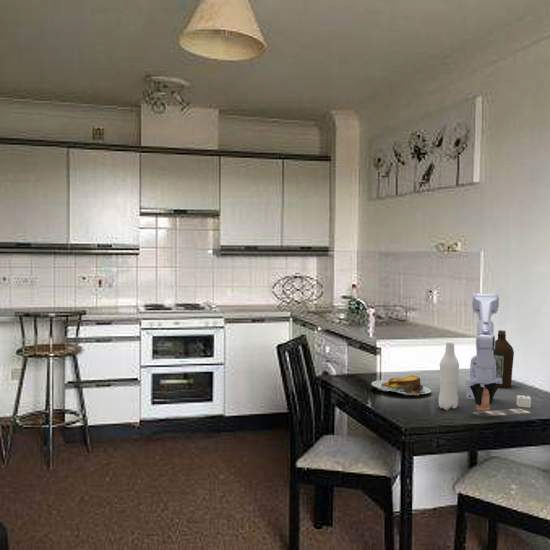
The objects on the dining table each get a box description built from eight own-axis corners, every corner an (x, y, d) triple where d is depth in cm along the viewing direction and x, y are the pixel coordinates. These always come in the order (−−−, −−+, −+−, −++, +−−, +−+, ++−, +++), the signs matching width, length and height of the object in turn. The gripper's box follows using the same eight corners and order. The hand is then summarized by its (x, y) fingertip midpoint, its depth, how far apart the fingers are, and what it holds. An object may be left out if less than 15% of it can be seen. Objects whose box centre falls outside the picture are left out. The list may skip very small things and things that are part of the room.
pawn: (475, 409, 220) (476, 388, 220) (477, 407, 224) (478, 385, 224) (488, 411, 218) (489, 389, 218) (490, 408, 222) (491, 387, 222)
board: (483, 419, 217) (483, 417, 217) (470, 414, 224) (470, 412, 224) (532, 415, 225) (532, 412, 225) (518, 410, 231) (518, 408, 231)
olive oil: (495, 382, 282) (497, 328, 281) (517, 386, 273) (519, 331, 272) (482, 385, 275) (484, 330, 274) (504, 389, 267) (506, 333, 266)
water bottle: (458, 411, 228) (461, 345, 227) (439, 410, 229) (441, 344, 228) (456, 407, 235) (458, 342, 234) (437, 405, 236) (439, 341, 235)
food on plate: (371, 384, 274) (371, 369, 274) (428, 387, 270) (428, 372, 270) (371, 397, 249) (372, 381, 248) (434, 401, 245) (434, 385, 245)
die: (518, 409, 233) (518, 397, 233) (516, 406, 238) (516, 395, 238) (530, 410, 232) (531, 398, 232) (528, 407, 237) (529, 395, 236)
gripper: (475, 370, 214) (473, 408, 215) (508, 368, 219) (507, 405, 220) (462, 366, 221) (461, 403, 222) (495, 364, 226) (494, 400, 227)
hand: (483, 404), depth 221 cm, fingers closed on pawn, 4 cm apart
